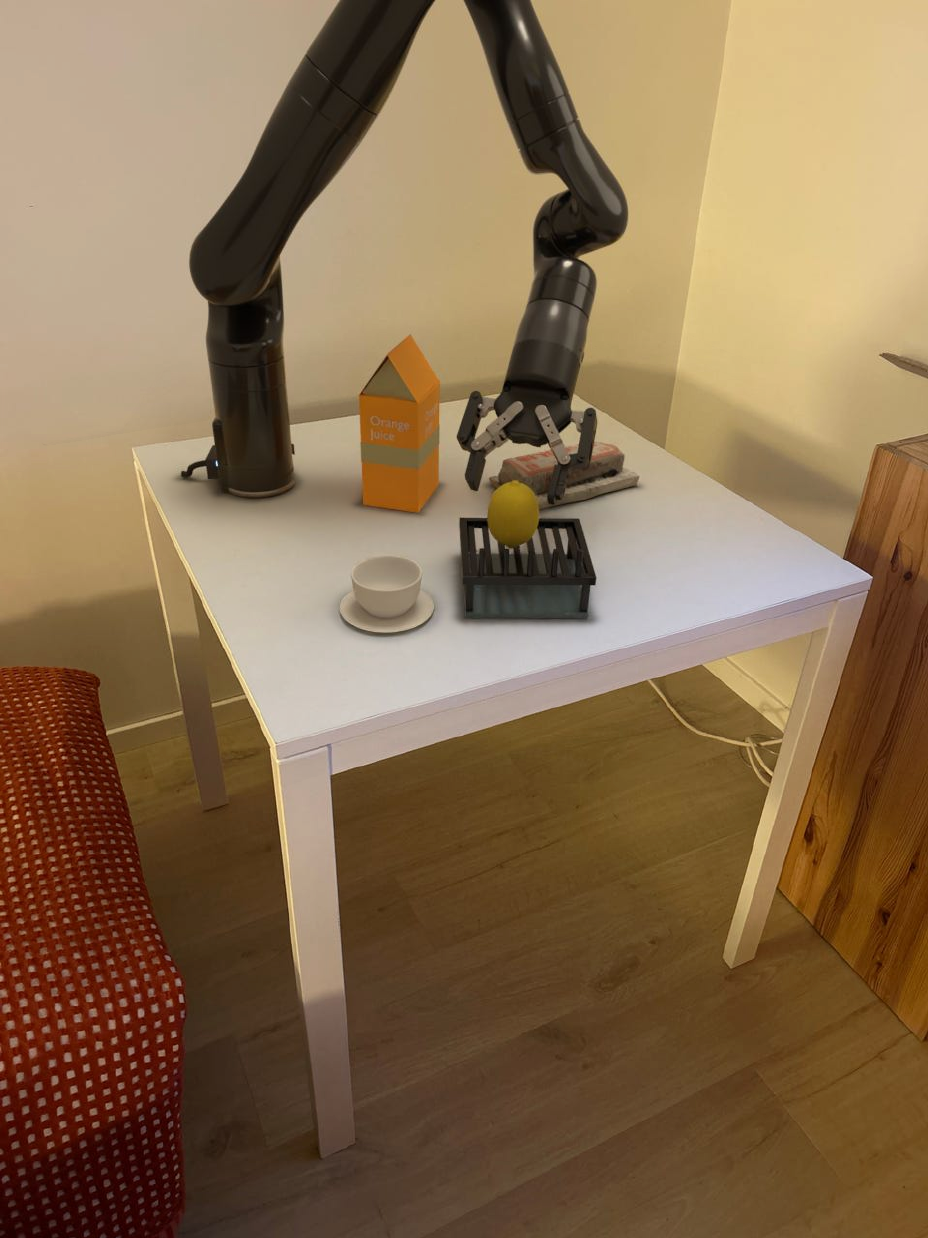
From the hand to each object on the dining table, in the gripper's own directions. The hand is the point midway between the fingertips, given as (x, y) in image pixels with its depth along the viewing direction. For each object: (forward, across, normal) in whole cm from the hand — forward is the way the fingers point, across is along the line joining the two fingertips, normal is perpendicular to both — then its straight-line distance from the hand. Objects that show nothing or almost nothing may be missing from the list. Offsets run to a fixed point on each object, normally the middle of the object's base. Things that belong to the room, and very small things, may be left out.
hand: (511, 495), depth 97 cm
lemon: (+4, 0, +5) cm, 7 cm away
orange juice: (-4, -20, +21) cm, 29 cm away
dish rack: (+7, +2, +9) cm, 12 cm away
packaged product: (-12, 0, +28) cm, 31 cm away
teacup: (+14, -11, +2) cm, 18 cm away
